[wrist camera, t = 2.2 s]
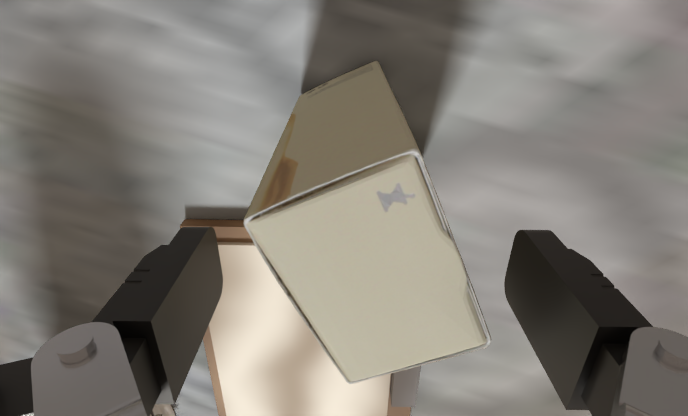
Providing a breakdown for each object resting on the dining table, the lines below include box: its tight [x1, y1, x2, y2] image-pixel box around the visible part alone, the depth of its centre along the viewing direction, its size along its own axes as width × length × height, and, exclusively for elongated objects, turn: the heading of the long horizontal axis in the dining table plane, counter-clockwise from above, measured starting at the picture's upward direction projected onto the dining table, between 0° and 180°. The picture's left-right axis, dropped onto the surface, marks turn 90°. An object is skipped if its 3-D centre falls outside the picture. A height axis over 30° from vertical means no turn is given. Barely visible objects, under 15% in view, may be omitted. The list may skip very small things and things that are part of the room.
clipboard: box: [180, 219, 421, 416], centre depth 26 cm, size 14×20×2 cm
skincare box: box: [243, 61, 491, 384], centre depth 15 cm, size 6×4×12 cm
